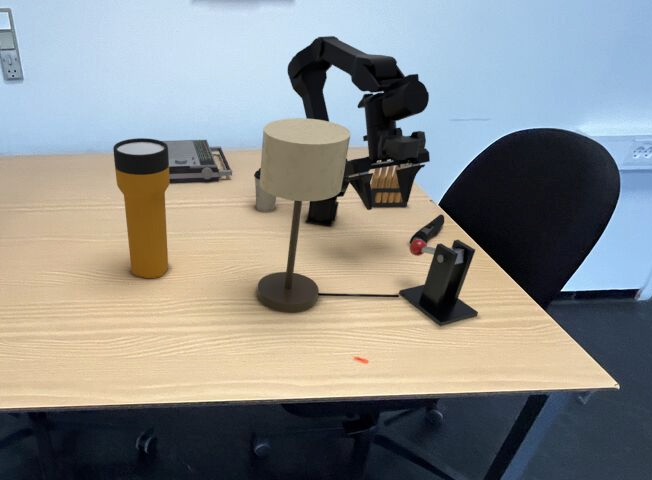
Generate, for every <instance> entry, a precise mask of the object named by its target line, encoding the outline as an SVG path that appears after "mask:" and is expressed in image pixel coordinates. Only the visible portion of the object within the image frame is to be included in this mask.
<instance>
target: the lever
mask: <svg viewBox="0 0 652 480" xmlns="http://www.w3.org/2000/svg"><path fill="white" fill-rule="evenodd" d="M449 248H450V249H451V250H453V251H454V252H456V253H458V256H457V259H456V262H455V264H459V263H463V257H464V249H459V248H454V247H452V246H451V247H449ZM408 249H409V253H410V254H411V255H413V256H415V257H419V256H420V257H421V256H423V255H424V254H428V255H432V256H434V252H435V249H436V247H432V246H428V245H427V243H425V242H424V241H423V240H420V239H417V240H414V241H413V242H412V243H411V244H410V243H409V248H408Z"/></svg>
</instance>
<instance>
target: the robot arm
mask: <svg viewBox="0 0 652 480" xmlns="http://www.w3.org/2000/svg"><path fill="white" fill-rule="evenodd" d="M333 66H334V67H335V68H337V69H339V70H340V71H343V72H345V73H346V74H348V75H349V76H350V79H351V83H352V84H353V85H354V86H355V87H356V88H357V89H358V90H359V91H360V92H369V93H363V96H362V98H361V99H360V100H359V102H358V104H357V109H364V116H365V118H364V119H365V127H366V135H363V136H362V138H363V142H367V150H368V151H367V152H368V155H367V156H365V157H359V158H353V159H350V160H349V159H347V158H348V157H347V158H346V164H345V170H344V176H343V182H342V187H341V191H340V192H339V194H337V195H336V196H334V197H332V198H329V199H325V200H319V201H309V203H308V204H309V205H308V211H307V216H306V219H305V223H308V224H314V225H321V226H328V227H332V226H333V223H334V222H335V221H336V219H337V216H338V209H339V203H340V202H339V201H338V198H342V197H343V198H344V197H345V195H346V193H347V190H348V187H349V185H351V187H352V188H353V189H354V190H355V192H356V194H357V195H358V197H359V198H360V201H361V202H362V204H363V205H364V207H365V208H366V210H367V211H371V210H372V209H373V207H372V195H371V182H372V177H373V175H374V172H370V170H375V169H377V168H380V169H382V168H383V167H387V168H389V167H390V166H394V167H396V165H397V166H398V167H399V168H400V169H399V170H396V175H397V179H398V184H399V188H400V193H401V197H402V200H403V203H407V204H408V203H409V202H410V201H409V200H410V196H411V193H412V189H413V185H414V182H415V179H416V176H417V174H418V173H419V172H420V171H421V169H422V168H425V166H426V164H425V163H429V162H431V158H430V151H429V150H428V149H427V148H426V142H427V140H426V139H427V138H426V132H425V131H422V130H417V131H412V133H411V134H410V135H404V133H403V130H402V127H397V122H399V121H402V120H404V119H408V118H410V117H413V116H415V115H419V114H421V113H423V112H424V111H425V110H426V109H427V107H428V104H429V101H430V93H429V91H428V89H427V87H426V86H425V84H424V83H423V82H422V81H421V80H420V78H419V74H418V73H413V74H407V75H406V76H405V74H404V73H403V72H402V70H401V69H400V67H399V66H398V61H397V60H396V58H395V57H394V56H390V55H386V54H385V55H383V54H371V53H367V52H364V51H362V50H360V49H358V48H356V47H354V46H352V45H350V44H348V43H346V42H344V41H342V40H340V39H339V38H338V37H337V36H334V35H327V36H318V37H316V38H315V39H313V40H312V42H311V43H310V44H309V45H307V46H306V47H304V48H302V49H301V50H299V51H298V52H297V53H296V54H295V55H294V56H292V58H291V60H290V61H289V63H288V65H287V70H286V71H287V75H288V78H289V79H288V80H289V81H290V84H291V87H292V90H293V91H294V92H295V93H296V94H297V95H298V96H299V98H300V99H301V101H302V104H303V109H304V114H305V119H316V120H323V121H328V122H330V118H329V114H328V113H329V112H328V108H327V103H326V100H325V95H324V88H325V85H326V82H327V78H328V76H327V75H328V73H327V72H328V71H329V70H330V69H331V68H332V67H333ZM374 93H375V94H374ZM379 160H380V162H378V161H379ZM377 162H378V163H377Z"/></svg>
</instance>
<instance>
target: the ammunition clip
mask: <svg viewBox="0 0 652 480" xmlns="http://www.w3.org/2000/svg"><path fill="white" fill-rule="evenodd" d="M378 162H381V160H379V161H377V163H378ZM394 167H395V168H394ZM387 168H388V170H387ZM399 169H400V168H399V167H398V166H397V165H396V166H390V167H383V168H377V169H374V170H373V176H372V179H371V182H370V184H371V195H372V208H407V206H408V203H403V200H402V197H401V193H400V188H399V184H398V179H397V175H396V170H399Z"/></svg>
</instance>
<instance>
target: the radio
mask: <svg viewBox="0 0 652 480" xmlns="http://www.w3.org/2000/svg"><path fill="white" fill-rule="evenodd" d="M161 141H162V142H164V143H166V144H167V146H168V156H169V184H187V183H188V184H189V183H190V184H191V183H213V182H216V183H217V182H219V179H220V177H228V176H229V177H231V176H233V170H232V169H231V167H230V165H229V163H228V160H227V158H226V156H225V154H224V151H223V149H222V146H221V145H220V146H219V145H218V146H210V145H209V141H208V139H184V140H183V139H182V140H181V139H180V140H178V139H177V140H161ZM213 152H214V153H215V152H218V153H219V155H220V157H221V160H222V162H223V165H224V167H225V169H221V168H219V167H218V164H217V162H216V159H215V156H214V155H213Z"/></svg>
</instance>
